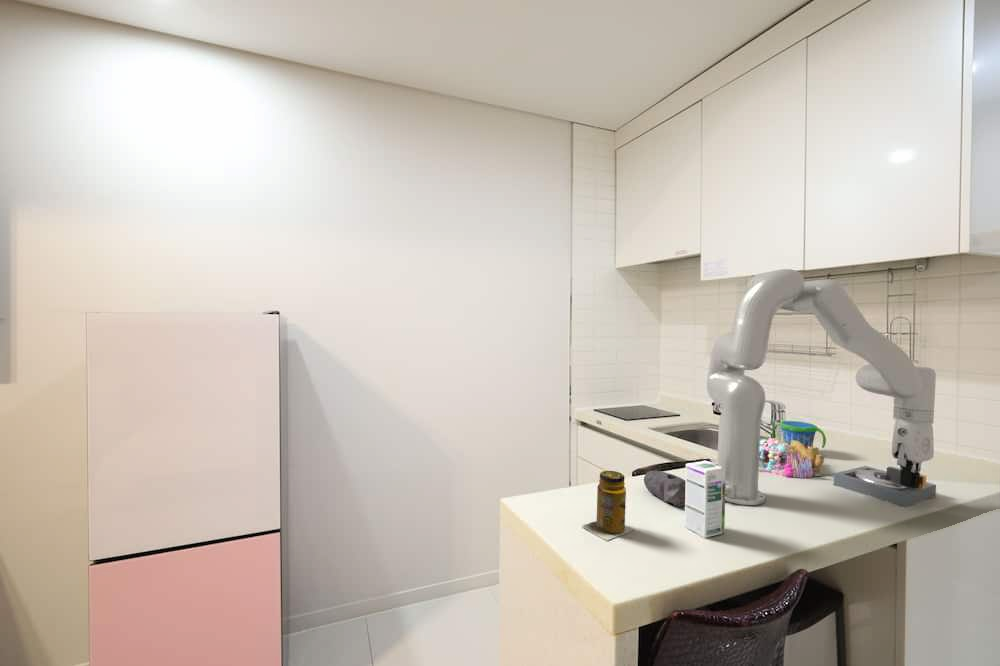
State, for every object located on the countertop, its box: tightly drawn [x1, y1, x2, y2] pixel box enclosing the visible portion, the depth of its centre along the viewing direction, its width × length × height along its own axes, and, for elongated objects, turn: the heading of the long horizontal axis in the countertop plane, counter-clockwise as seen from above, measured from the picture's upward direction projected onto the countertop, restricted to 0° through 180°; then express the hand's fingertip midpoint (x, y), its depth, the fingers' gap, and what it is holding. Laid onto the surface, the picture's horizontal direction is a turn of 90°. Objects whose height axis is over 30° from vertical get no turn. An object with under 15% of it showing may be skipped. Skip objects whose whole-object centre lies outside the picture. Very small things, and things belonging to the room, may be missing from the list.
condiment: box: [581, 470, 634, 542], centre depth 97 cm, size 7×8×12 cm
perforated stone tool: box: [643, 470, 686, 507], centre depth 114 cm, size 15×5×7 cm, turn 22°
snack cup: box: [771, 420, 827, 449], centre depth 155 cm, size 16×10×10 cm
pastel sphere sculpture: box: [759, 437, 825, 479], centre depth 142 cm, size 25×24×9 cm
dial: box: [855, 466, 927, 491], centre depth 121 cm, size 15×12×5 cm
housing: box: [833, 465, 937, 508], centre depth 122 cm, size 16×16×3 cm
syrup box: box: [684, 460, 726, 539], centre depth 97 cm, size 6×6×14 cm
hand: (909, 486), depth 114 cm, fingers closed
